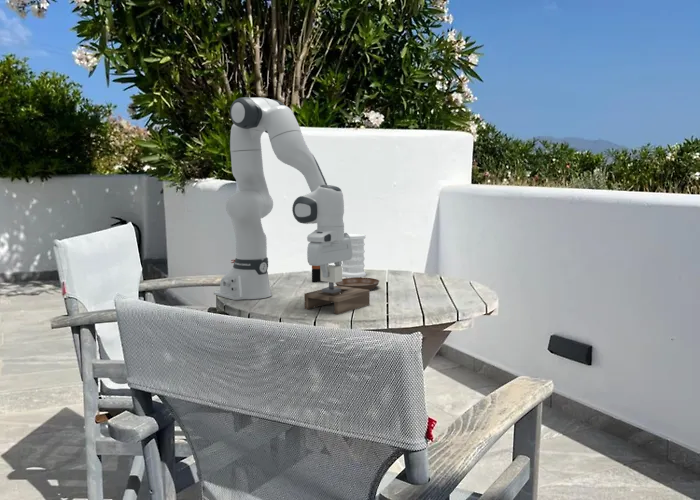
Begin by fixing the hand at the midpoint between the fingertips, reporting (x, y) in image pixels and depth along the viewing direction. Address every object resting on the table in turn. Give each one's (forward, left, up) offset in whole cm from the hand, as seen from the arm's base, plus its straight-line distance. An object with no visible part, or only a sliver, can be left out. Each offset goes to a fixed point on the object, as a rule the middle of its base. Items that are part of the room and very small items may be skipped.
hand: (331, 276), depth 204 cm
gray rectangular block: (0, 0, -5) cm, 5 cm away
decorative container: (-34, +60, -11) cm, 70 cm away
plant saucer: (-15, +36, -12) cm, 41 cm away
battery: (-36, +39, -11) cm, 55 cm away
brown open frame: (0, +3, -11) cm, 12 cm away
